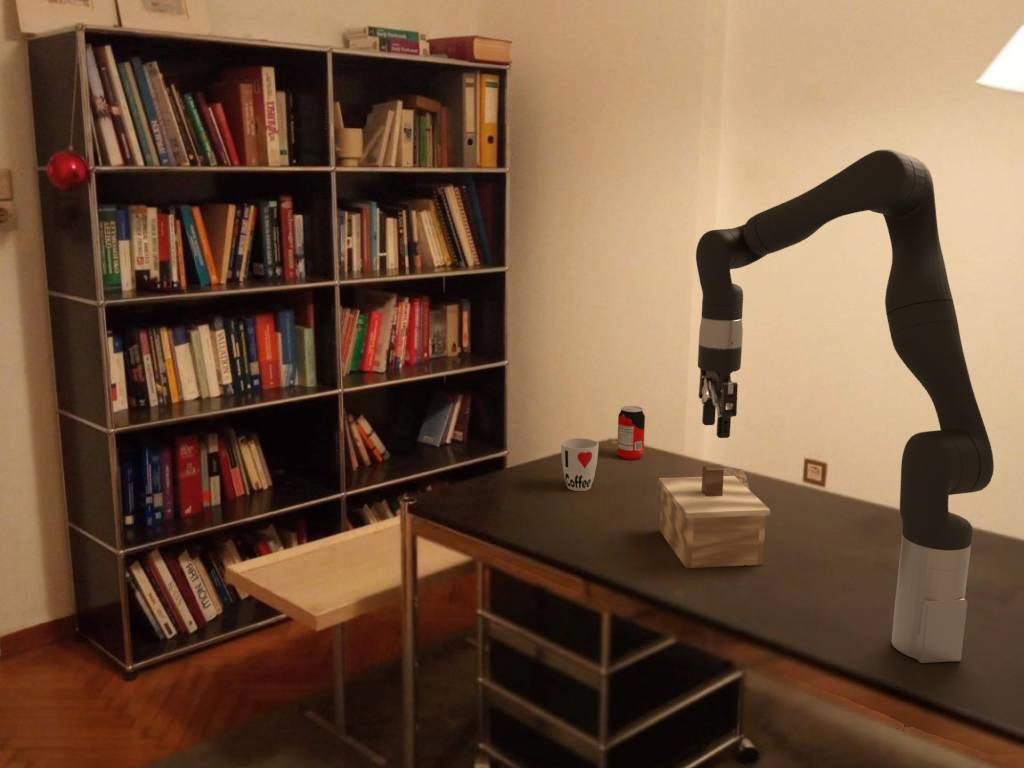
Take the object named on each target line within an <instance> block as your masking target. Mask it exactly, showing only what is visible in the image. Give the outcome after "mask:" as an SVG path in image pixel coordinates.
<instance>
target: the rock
mask: <svg viewBox="0 0 1024 768" xmlns="http://www.w3.org/2000/svg"><path fill="white" fill-rule="evenodd" d="M722 468H723V469H724V476H735V477H736V478H737V479H738V480H739V481H740V482H741V483H743V484H744V485H745V486H746V487H747V488H748V489H749V490H750V488H749V487H750V486H749V484H748V479H747V478H748V477H747V475H746V473H745V472H744V471H743V469H742V468H739V469H736V468H732V467H731V468H728V467H722Z"/></svg>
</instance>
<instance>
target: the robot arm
mask: <svg viewBox="0 0 1024 768" xmlns="http://www.w3.org/2000/svg"><path fill="white" fill-rule="evenodd" d="M929 169H930V168H929V167H928V166H927V165H926V164H925V163H924V162H923V160H920V159H919V158H917V157H916V156H914V155H913V156H912V155H911V154H906V153H903V152H900V151H897V150H892V149H878V150H874V151H871V152H869V153H868V154H866V155H864V156H862V157H861V158H859V159H857V160H855V161H854V162H853V163H851V164H850V165H848V166H847V167H845V168H844V169H842V170H840V171H839V172H837V173H836V174H834V175H833V176H831V177H829V178H827V179H826V180H824V181H822V182H821V183H819V184H818V185H816V186H814V187H812V188H811V189H809V190H807V191H805V192H803V193H802V194H800V195H797V196H796V197H793V198H791V199H789V200H787V201H785V202H783V203H779V204H777V205H774V206H772V207H770V208H768V209H766V210H764V211H761V212H759V213H757V214H754V215H753V216H751V217H750V218H748V220H747V221H746V222H745V223H744V224H742V225H739V226H737V227H732V228H726V229H725V228H723V229H712V230H709V231H706V232H705V233H704V234H702V235H701V237H700V238H699V241H698V243H697V246H696V250H695V262H696V267H697V272H698V278H699V284H700V288H701V292H702V300H701V317H700V318H701V319H700V325H699V332H698V353H697V368H698V369H700V374H699V385H698V386H699V387H698V399H701V400H700V401H701V404H702V417H701V418H702V419H701V422H702V423H701V424H703V425H704V426H714V425H715V423H716V436H717V438H719V439H728V438H729V437H730V436H731V424H732V423H731V421H732V418H733V417H737V414H738V409H737V408H738V387H739V386H738V382H736V381H735V382H733V380H732V379H731V378H732V377H731V374H732V373H734V372H737V371H739V370H740V369H741V365H742V351H743V350H742V349H743V330H744V328H743V312H744V311H743V310H744V309H743V307H744V305H743V304H744V292H743V291H744V290H743V288H742V286H740V285H739V284H736V283H733V280H732V275H731V270H734V269H735V270H736V269H740V268H741V269H742V268H743V267H746V266H748V265H749V266H750V265H751V264H753V263H755V262H757V261H759V260H761V259H763V258H764V257H766V256H767V255H771V254H774V253H776V252H779V251H782V250H783V249H784V250H785V249H787V248H789V247H791V246H795V245H797V244H799V243H801V242H803V241H805V240H806V239H808V238H810V237H811V236H812V235H814V234H815V233H816V232H817V231H818V230H819V229H820V228H822V227H823V226H825V225H826V224H827V223H830V222H831V221H833V220H835V219H838V218H841V217H843V216H847V215H852V214H855V213H856V214H857V213H861V212H866V211H871V212H872V213H877V214H881V215H883V218H884V220H885V221H884V222H885V225H886V228H887V232H888V235H889V240H890V244H891V265H890V271H889V276H888V280H887V285H886V289H885V298H884V305H885V306H884V307H885V313H886V314H885V315H886V319H887V323H888V327H889V328H888V329H889V333H890V339H891V342H892V343H891V344H892V345H893V348H894V351H895V353H896V354H897V356H898V357H899V358H900V360H901V361H902V362H903V364H904V365H905V366H906V368H907V369H908V370H909V371H910V372H911V374H912V375H913V376H914V377H915V379H917V381H918V382H919V383H920V385H921V386H922V387H923V388H924V390H925V391H926V392H927V395H928V396H929V398H930V399H931V401H932V402H931V403H932V404H933V406H934V410H935V413H936V416H937V420H938V423H939V427H940V428H939V430H937V429H936V430H928V431H927V430H926V431H920V432H917V433H914V434H913V435H912V436H911V437H910V438H909V439H908V440H907V442H906V444H905V446H904V448H903V452H902V458H901V466H900V469H901V470H900V492H899V493H900V495H899V513H900V517H901V521H902V523H901V524H902V531H901V542H900V550H899V551H900V553H899V562H898V572H897V583H896V589H895V590H896V592H895V602H894V611H893V612H894V614H893V622H892V623H893V624H892V633H891V644H892V646H893V648H895V649H896V651H898V652H899V653H901V654H903V655H905V656H907V657H910V658H913V659H915V660H917V661H918V662H919V663H921V664H927V663H928V664H929V663H943V662H944V663H946V662H960V661H962V653H963V652H962V651H963V643H964V642H963V641H964V633H965V627H966V625H965V624H966V616H967V608H968V600H967V599H966V598H965V597H966V589H967V582H968V571H969V565H970V559H971V558H970V557H971V556H970V555H971V548H972V542H973V525H972V524H971V522H970V521H969V520H968V519H967V518H965V517H963V516H961V515H958V514H956V513H953V512H951V511H949V496H952V495H959V494H960V495H961V494H969V493H976V492H980V491H983V490H984V489H986V488H987V487H988V485H989V484H990V483H991V481H992V478H993V475H994V471H995V470H994V468H995V466H994V465H995V464H994V455H993V450H992V445H991V442H990V438H989V434H988V432H987V429H986V426H985V423H984V420H983V417H982V414H981V411H980V408H979V405H978V402H977V399H976V394H975V392H974V389H973V385H972V382H971V379H970V377H971V376H970V373H969V369H968V366H967V365H968V364H967V362H966V358H965V357H966V356H965V353H964V349H963V345H962V339H961V333H960V328H959V323H958V316H957V312H956V308H955V303H954V300H953V295H952V291H951V288H950V283H949V278H948V275H947V274H948V273H947V268H946V264H945V260H944V259H945V258H944V255H943V250H942V248H941V247H942V246H941V242H940V235H939V228H938V219H937V208H936V197H935V196H936V195H935V187H934V182H933V176H932V174H931V172H930V170H929ZM716 414H717V418H716ZM716 419H717V421H716Z"/></svg>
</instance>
